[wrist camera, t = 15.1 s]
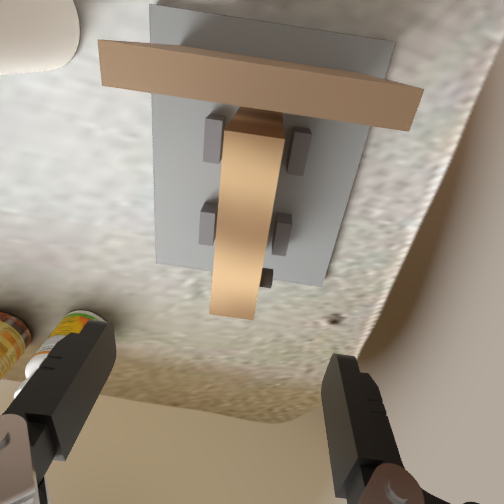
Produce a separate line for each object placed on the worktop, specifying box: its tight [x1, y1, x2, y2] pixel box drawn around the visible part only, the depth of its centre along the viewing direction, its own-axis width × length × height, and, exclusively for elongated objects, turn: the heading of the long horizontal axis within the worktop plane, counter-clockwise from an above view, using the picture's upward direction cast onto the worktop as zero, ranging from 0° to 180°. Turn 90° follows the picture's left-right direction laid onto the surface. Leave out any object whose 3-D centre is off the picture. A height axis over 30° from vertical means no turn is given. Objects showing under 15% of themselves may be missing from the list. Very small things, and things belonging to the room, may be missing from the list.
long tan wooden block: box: [209, 106, 285, 320], centre depth 23 cm, size 12×4×9 cm, turn 173°
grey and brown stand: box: [98, 4, 424, 287], centre depth 22 cm, size 20×16×13 cm
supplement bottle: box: [14, 310, 104, 399], centre depth 34 cm, size 5×5×10 cm
